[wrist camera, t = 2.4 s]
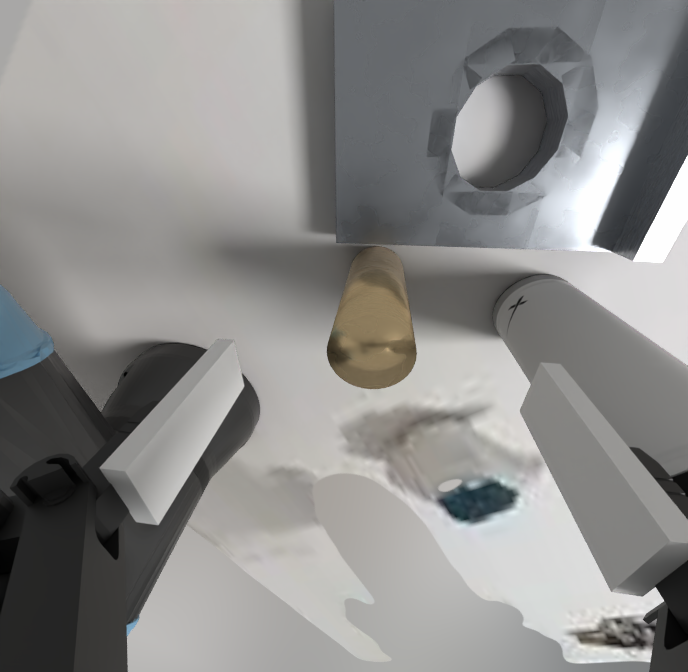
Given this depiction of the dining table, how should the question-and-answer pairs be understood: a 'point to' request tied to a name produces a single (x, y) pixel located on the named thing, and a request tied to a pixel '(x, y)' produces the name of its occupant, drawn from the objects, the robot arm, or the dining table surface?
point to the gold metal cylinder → (373, 323)
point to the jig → (558, 139)
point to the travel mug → (602, 364)
